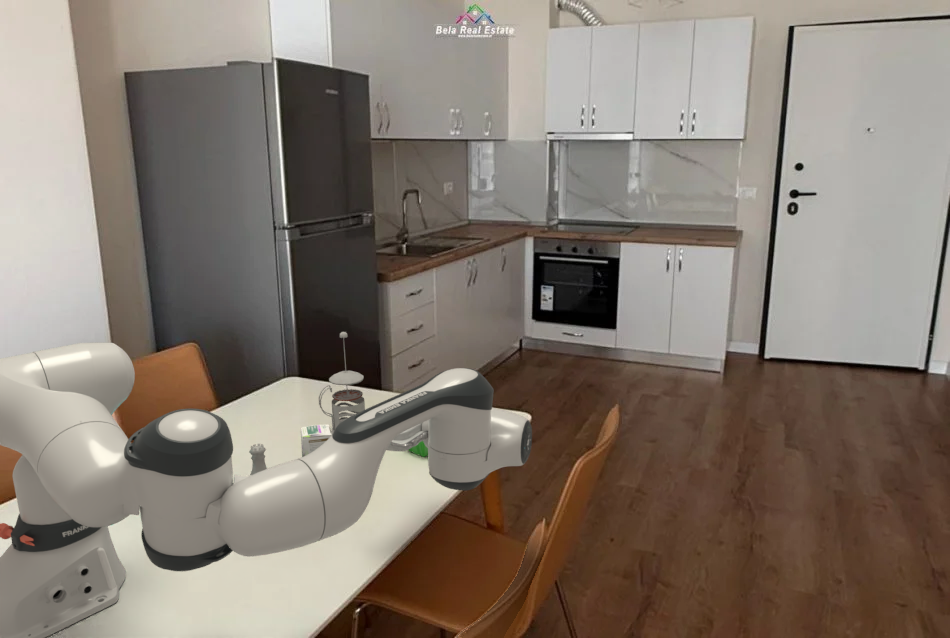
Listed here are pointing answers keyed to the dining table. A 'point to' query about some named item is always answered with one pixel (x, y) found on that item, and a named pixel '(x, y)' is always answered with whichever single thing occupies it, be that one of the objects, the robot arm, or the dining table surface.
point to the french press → (344, 394)
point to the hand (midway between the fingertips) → (377, 411)
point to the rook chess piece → (257, 458)
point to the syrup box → (314, 437)
